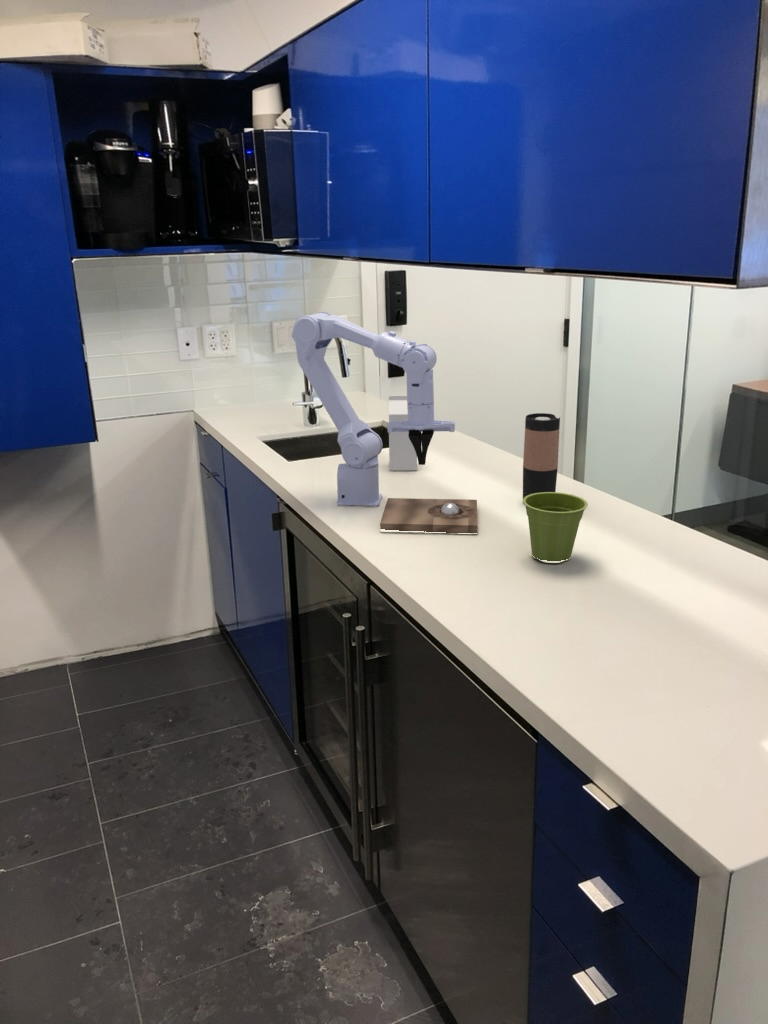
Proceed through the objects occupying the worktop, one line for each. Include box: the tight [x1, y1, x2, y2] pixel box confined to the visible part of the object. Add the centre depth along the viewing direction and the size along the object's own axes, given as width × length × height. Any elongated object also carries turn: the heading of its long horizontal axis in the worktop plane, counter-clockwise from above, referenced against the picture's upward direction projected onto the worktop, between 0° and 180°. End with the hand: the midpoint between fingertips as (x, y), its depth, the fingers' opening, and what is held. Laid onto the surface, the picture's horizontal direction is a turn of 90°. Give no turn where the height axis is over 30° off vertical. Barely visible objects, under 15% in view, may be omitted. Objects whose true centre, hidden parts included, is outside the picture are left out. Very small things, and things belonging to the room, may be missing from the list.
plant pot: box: [522, 492, 589, 561], centre depth 156 cm, size 12×12×11 cm
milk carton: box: [388, 395, 418, 472], centre depth 215 cm, size 7×7×19 cm
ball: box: [441, 503, 459, 516], centre depth 178 cm, size 4×4×4 cm
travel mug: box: [522, 412, 561, 504], centre depth 186 cm, size 8×8×20 cm
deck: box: [379, 497, 479, 534], centre depth 179 cm, size 20×17×2 cm
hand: (422, 463), depth 183 cm, fingers closed
